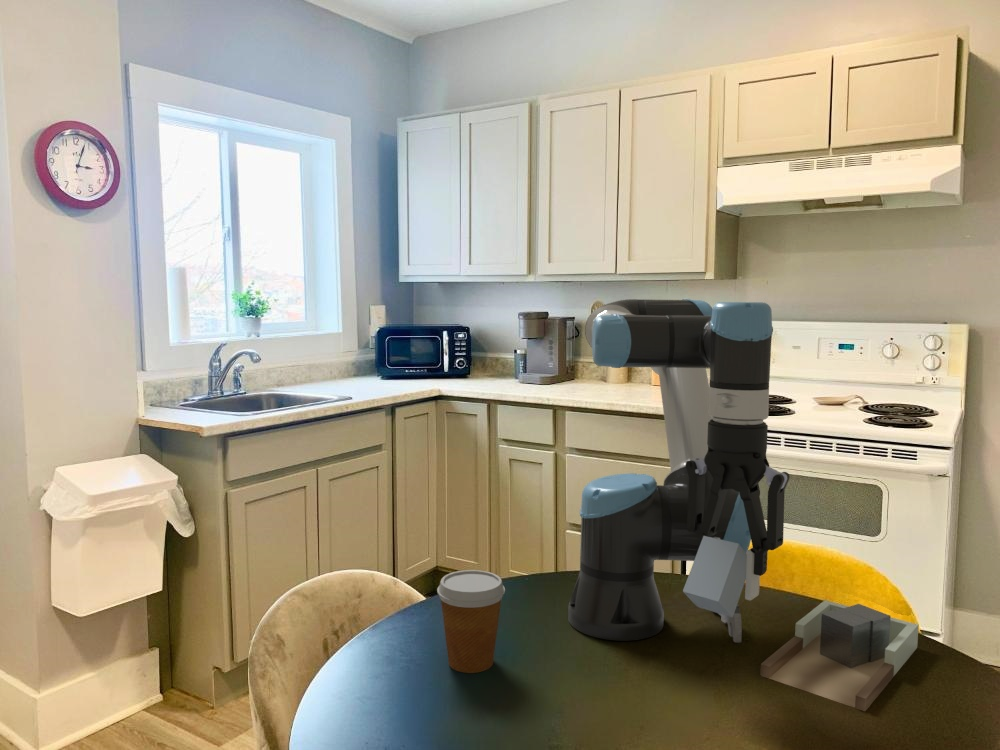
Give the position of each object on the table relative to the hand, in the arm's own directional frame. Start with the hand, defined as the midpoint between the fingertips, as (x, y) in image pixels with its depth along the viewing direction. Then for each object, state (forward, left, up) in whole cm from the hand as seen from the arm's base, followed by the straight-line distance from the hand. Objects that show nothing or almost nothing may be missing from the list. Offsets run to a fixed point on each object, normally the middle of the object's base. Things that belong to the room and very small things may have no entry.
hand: (731, 591), depth 102 cm
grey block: (0, -7, 0) cm, 7 cm away
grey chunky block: (+11, +20, -12) cm, 26 cm away
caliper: (-10, +18, -13) cm, 24 cm away
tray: (+10, +21, -12) cm, 26 cm away
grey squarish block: (+10, +16, -12) cm, 22 cm away
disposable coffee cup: (-29, -20, -13) cm, 38 cm away
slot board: (+10, +15, -12) cm, 22 cm away
